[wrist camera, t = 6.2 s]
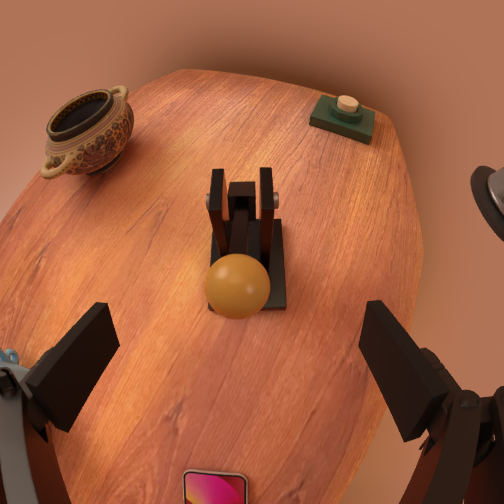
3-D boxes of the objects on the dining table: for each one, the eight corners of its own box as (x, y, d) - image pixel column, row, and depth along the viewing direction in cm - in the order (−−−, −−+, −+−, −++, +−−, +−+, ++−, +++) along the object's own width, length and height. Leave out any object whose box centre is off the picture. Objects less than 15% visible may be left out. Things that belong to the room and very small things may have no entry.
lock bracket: (285, 310, 32) (306, 254, 18) (209, 310, 32) (175, 256, 18) (280, 223, 37) (290, 139, 24) (214, 224, 37) (194, 142, 24)
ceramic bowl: (96, 225, 41) (69, 171, 28) (34, 195, 40) (4, 147, 26) (161, 131, 51) (162, 74, 38) (100, 115, 50) (91, 64, 37)
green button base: (372, 119, 49) (377, 105, 45) (368, 145, 45) (374, 129, 41) (320, 102, 51) (322, 87, 48) (309, 124, 47) (311, 108, 44)
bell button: (357, 106, 45) (359, 99, 44) (355, 115, 44) (357, 108, 42) (338, 100, 46) (340, 93, 44) (335, 108, 44) (336, 101, 43)
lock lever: (270, 331, 15) (273, 286, 12) (205, 331, 15) (194, 287, 12) (263, 210, 25) (263, 174, 23) (224, 211, 25) (221, 175, 23)
